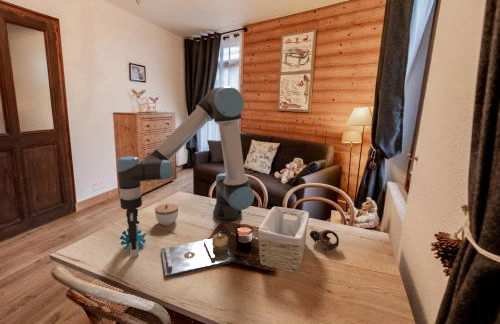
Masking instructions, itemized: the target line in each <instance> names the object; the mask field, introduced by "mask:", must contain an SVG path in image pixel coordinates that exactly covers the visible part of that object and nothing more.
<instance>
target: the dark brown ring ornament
mask: <svg viewBox="0 0 500 324" xmlns="http://www.w3.org/2000/svg"><path fill="white" fill-rule="evenodd" d="M329 234H332V235H333V236H334V237H335V239H336V241H335V242H334V243H328V244H326V242H329V241H330V240H331V236H328V235H329ZM309 236H310V238H311V239H312V240H313V241H314V243H315V244H316V243H317V242H319V241H320V243H321V245H322V246H323V247H322V249H321V250H322V252H325V253H326V252H329V251H333V250H335V249H337V248H338V246H339V243H340V238H339V235H338V234H337V233H336V232H334V231H333V230H331V229H325V230H322V231H317V230H310V232H309Z"/></svg>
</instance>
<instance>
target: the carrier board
mask: <svg viewBox="0 0 500 324" xmlns="http://www.w3.org/2000/svg"><path fill="white" fill-rule="evenodd" d="M211 237H212V238H209V239H208V238H205V239H203V240H198V241H194V242H188V243H183V244H178V245H172V246H165V247H161V249H160V251H161V255H162V256H161V257H162V258H161V259H162V264H163V271H164V279H168V278H169V279H170V278H172V277H177V276H183V275H186V274H190V273H194V272H198V271H202V270H206V269H211V268H215V267H219V266H220V267H221V266H224V265H227V264H232V263H231V262H232V261H236V258H235V256H234V254H233V252H232V251H231V249H230V247H229V246H228V245H229V244H228V238H229V237H228V235H227V234H225V233H222V232H218V233H216V234H214V235H212V236H211Z"/></svg>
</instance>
